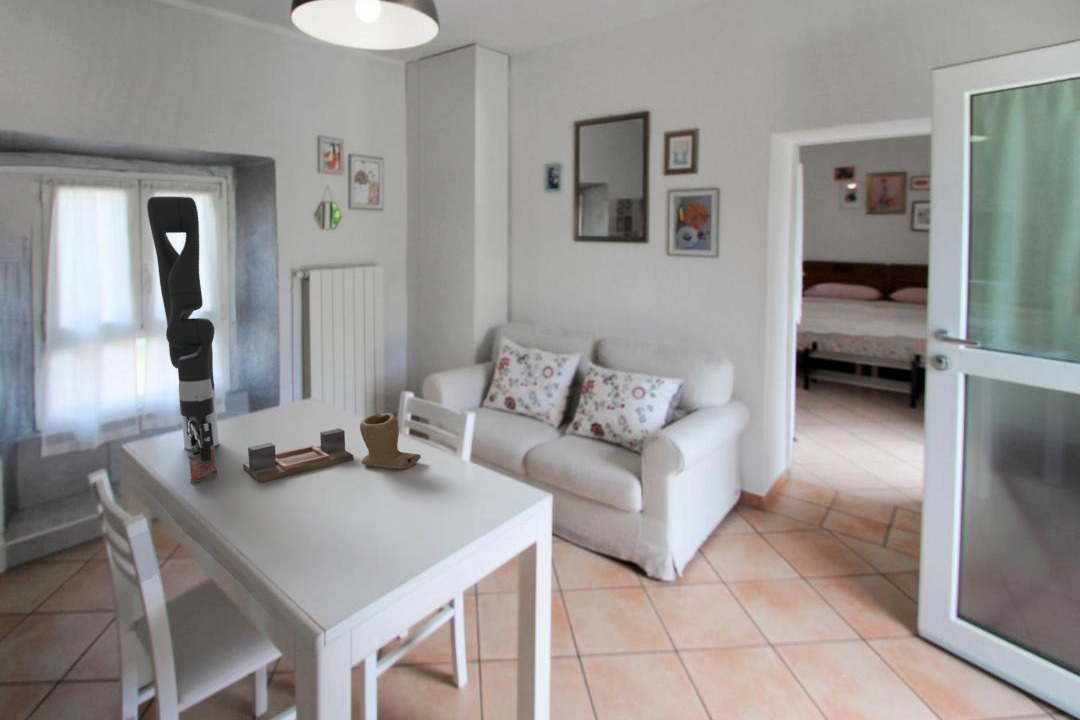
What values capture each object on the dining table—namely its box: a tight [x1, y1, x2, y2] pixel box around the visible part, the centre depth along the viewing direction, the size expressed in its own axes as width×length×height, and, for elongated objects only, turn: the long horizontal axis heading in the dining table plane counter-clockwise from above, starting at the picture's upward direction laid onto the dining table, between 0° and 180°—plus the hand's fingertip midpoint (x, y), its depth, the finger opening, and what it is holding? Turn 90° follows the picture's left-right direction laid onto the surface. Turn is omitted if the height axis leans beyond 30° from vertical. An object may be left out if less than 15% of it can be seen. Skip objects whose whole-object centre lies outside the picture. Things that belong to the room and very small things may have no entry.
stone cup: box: [359, 412, 422, 470], centre depth 173 cm, size 15×12×15 cm
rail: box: [242, 428, 354, 484], centre depth 174 cm, size 13×26×8 cm, turn 134°
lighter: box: [187, 439, 218, 485], centre depth 162 cm, size 8×3×10 cm, turn 168°
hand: (201, 456), depth 161 cm, fingers open, 8 cm apart
